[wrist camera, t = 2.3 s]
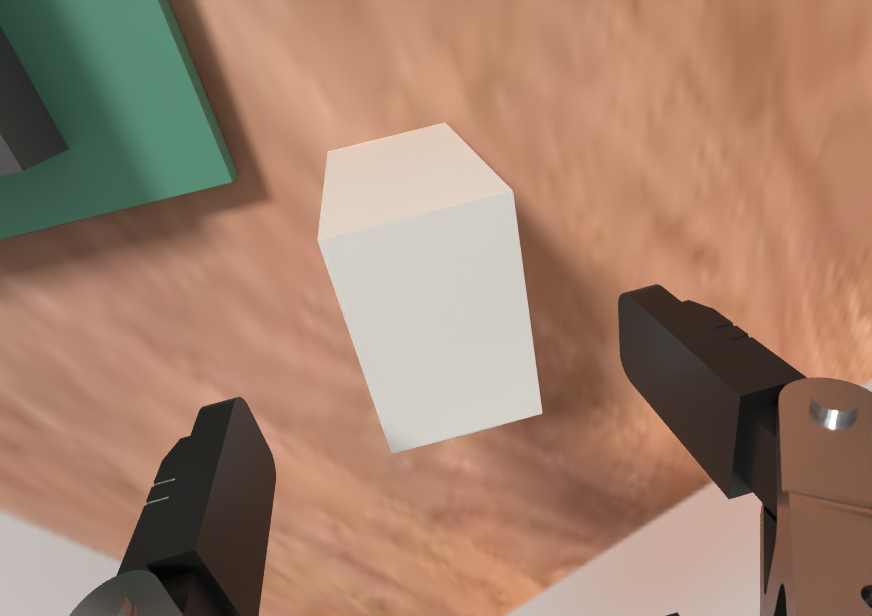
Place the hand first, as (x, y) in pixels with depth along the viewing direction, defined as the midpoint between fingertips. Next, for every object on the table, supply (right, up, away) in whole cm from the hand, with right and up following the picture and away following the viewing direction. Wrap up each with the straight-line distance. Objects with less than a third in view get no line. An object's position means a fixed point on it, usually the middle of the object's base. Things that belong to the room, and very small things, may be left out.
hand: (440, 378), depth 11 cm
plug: (-1, +5, +8) cm, 9 cm away
